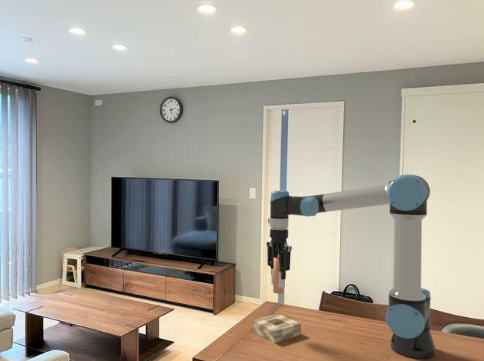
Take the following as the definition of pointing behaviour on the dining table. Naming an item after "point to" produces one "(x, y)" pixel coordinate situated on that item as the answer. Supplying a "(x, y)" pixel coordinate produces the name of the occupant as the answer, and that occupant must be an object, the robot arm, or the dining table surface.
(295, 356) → the dining table surface
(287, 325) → the socket block
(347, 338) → the dining table surface
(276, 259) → the peg
